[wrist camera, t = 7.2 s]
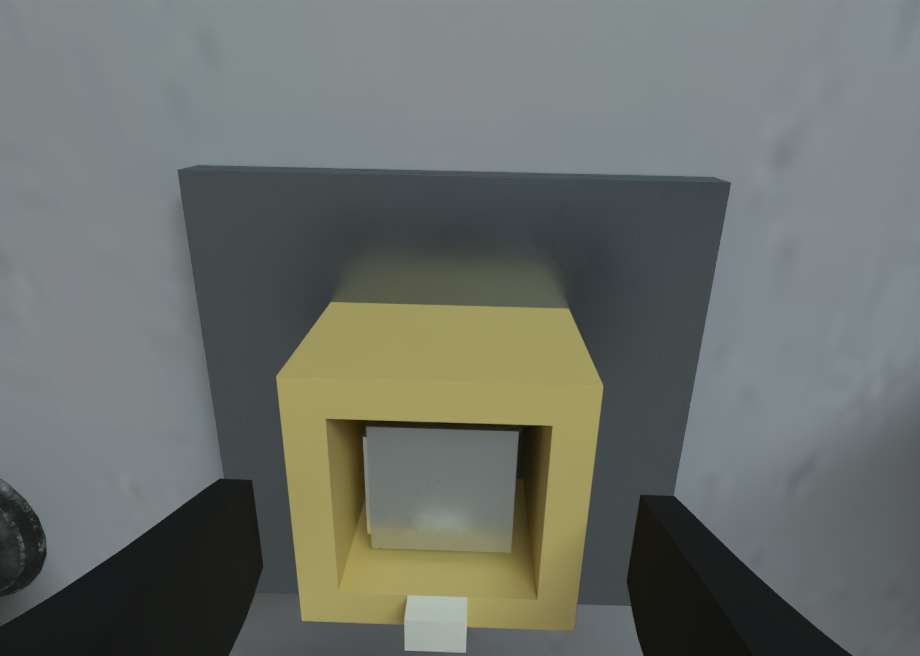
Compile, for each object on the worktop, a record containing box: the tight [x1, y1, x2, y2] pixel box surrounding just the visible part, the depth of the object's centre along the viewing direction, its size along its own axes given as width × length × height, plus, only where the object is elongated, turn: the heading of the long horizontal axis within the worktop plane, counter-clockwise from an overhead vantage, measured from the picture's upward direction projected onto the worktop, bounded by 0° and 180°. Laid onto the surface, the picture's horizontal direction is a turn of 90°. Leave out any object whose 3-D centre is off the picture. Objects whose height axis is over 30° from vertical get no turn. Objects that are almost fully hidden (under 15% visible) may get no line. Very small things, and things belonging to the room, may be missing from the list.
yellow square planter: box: [276, 302, 603, 653], centre depth 13 cm, size 6×6×5 cm
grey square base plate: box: [178, 165, 731, 606], centre depth 14 cm, size 12×12×4 cm
